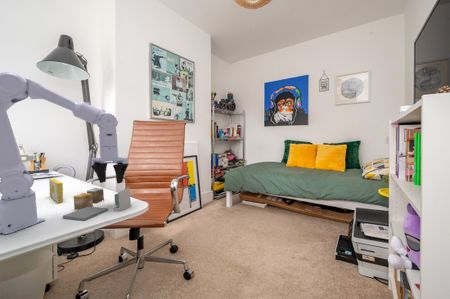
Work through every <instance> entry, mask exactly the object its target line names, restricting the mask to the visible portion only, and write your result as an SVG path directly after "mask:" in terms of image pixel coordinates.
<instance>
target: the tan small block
mask: <svg viewBox="0 0 450 299" xmlns="http://www.w3.org/2000/svg"><path fill="white" fill-rule="evenodd" d="M85 207H94V203H93V200H92V193H87V192H82V193H79V194H75V195H73V208H74V210H75V211H77V210H80V209H82V208H85Z"/></svg>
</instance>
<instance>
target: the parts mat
mask: <svg viewBox="0 0 450 299" xmlns="http://www.w3.org/2000/svg"><path fill="white" fill-rule="evenodd" d="M107 211H109V208H108V207H99V206H97V207H95V206H92V207H85V208H82V209H80V210H75V211H72V212H70V213H67V214H64V215H62V219H63V220H74V221H80V222H82V221H83V222H86V221H88V220H90V219H92V218H95V217H96V216H98V215H102V214H104V213H106V212H107Z"/></svg>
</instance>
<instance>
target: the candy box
mask: <svg viewBox="0 0 450 299" xmlns="http://www.w3.org/2000/svg"><path fill="white" fill-rule="evenodd" d="M48 181H49V184H48V185H49V197H50V198H51V199H52V200H53V201H54V202H56V204H62V203H63V202H64V192H63V191H64V188H63V187H64V186H63V182H62V181H60V180H57V179H56V178H48Z"/></svg>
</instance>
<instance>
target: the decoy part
mask: <svg viewBox="0 0 450 299" xmlns="http://www.w3.org/2000/svg"><path fill="white" fill-rule="evenodd" d="M86 193H92V200H93V204H97V203H99V202H100V201H101V202H103V201H105V198H104V197H105V196H104V195H105V194H104V188H101V187H100V188H99V187H94V188H91V189H87V190H86ZM102 200H103V201H102Z"/></svg>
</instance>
